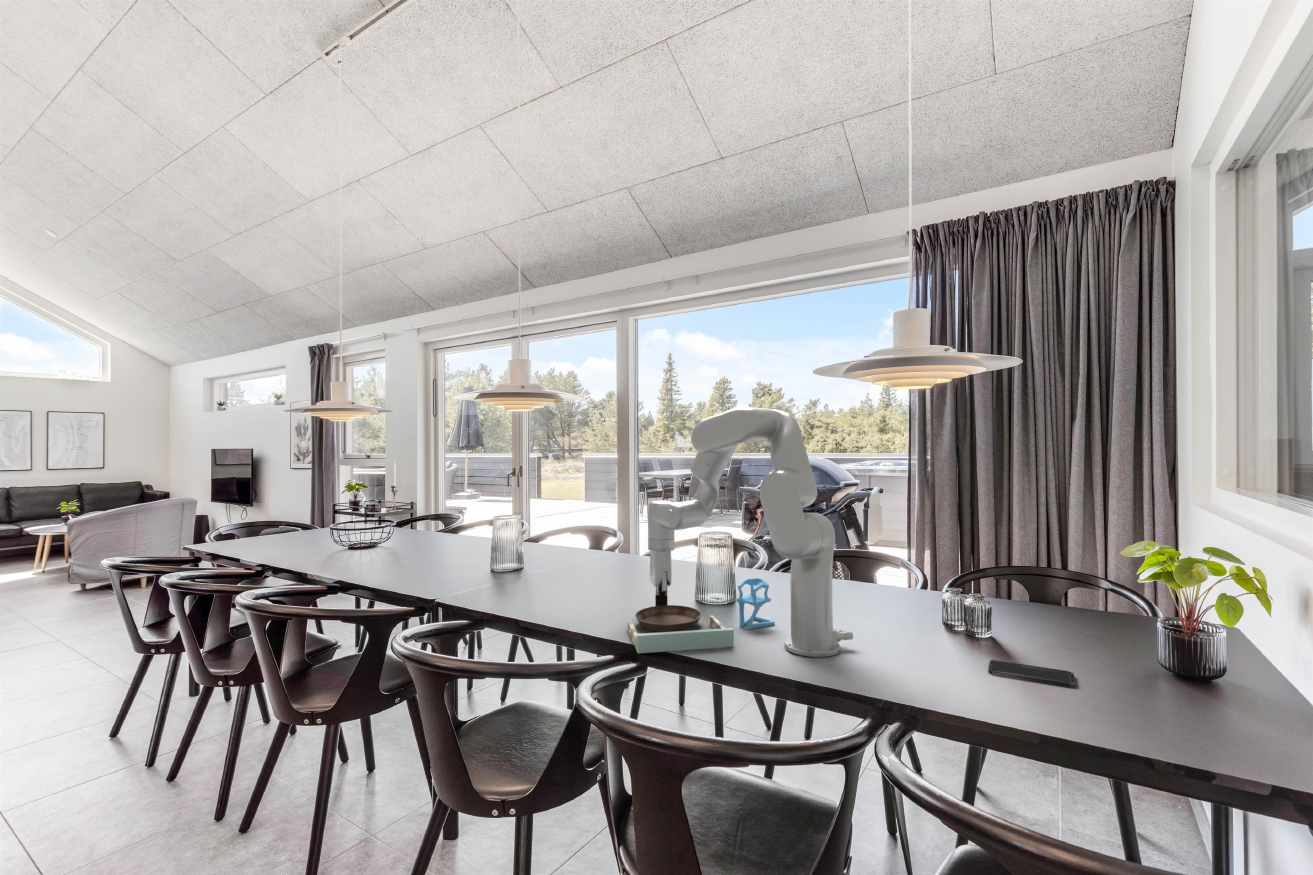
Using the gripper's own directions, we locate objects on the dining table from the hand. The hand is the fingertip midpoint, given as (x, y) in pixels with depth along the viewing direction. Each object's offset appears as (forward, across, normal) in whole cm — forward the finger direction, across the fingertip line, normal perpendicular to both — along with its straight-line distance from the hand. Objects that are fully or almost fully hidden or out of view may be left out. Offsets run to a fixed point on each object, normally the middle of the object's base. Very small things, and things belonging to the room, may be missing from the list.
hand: (661, 608), depth 174 cm
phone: (+1, +60, +66) cm, 90 cm away
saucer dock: (+1, +22, 0) cm, 22 cm away
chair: (+2, +15, +22) cm, 27 cm away
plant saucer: (+2, +10, 0) cm, 11 cm away
